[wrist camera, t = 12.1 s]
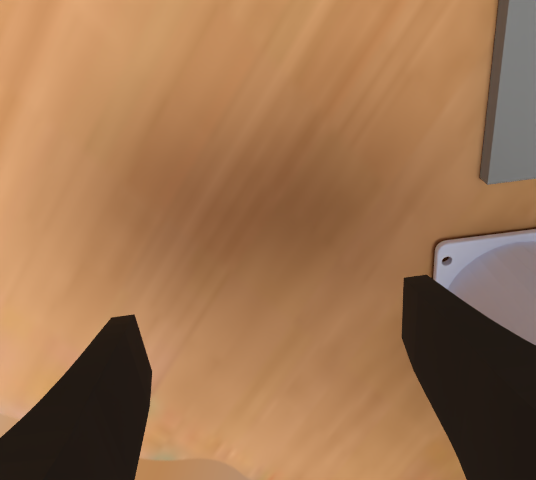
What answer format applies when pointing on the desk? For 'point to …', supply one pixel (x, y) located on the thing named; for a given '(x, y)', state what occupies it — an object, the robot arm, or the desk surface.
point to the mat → (512, 97)
